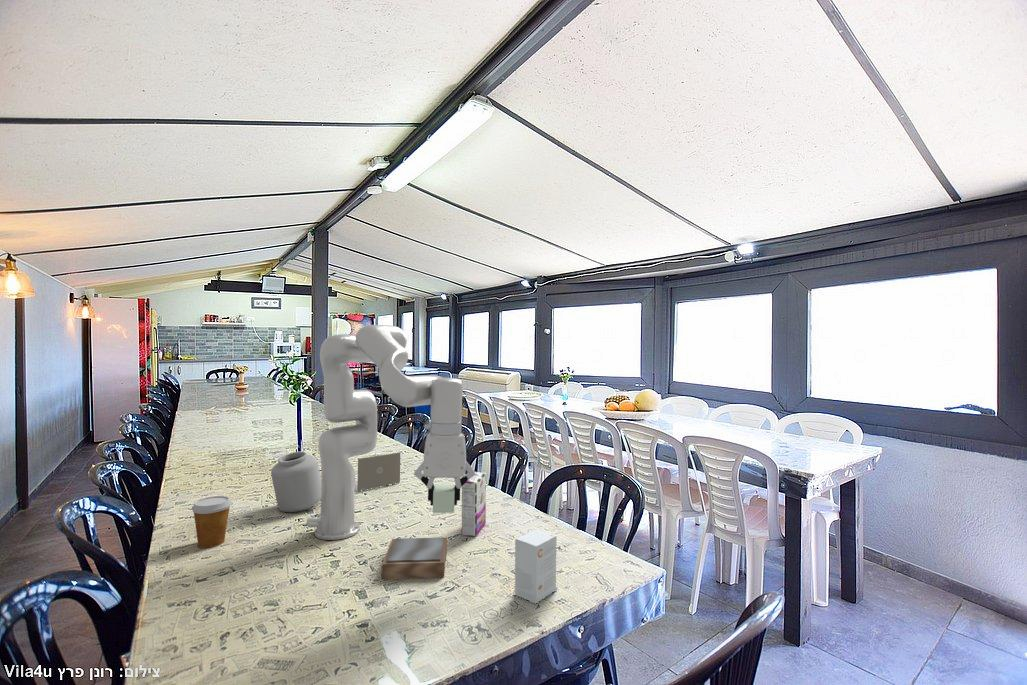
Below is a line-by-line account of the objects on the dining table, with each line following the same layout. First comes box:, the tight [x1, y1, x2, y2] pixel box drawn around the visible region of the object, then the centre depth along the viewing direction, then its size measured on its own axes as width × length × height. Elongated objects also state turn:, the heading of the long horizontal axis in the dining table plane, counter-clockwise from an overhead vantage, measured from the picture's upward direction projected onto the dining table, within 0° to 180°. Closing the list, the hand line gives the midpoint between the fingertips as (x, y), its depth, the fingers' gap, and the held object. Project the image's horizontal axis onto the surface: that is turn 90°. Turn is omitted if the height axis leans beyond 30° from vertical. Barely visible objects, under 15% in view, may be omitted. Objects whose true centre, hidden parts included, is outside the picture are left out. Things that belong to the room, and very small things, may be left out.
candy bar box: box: [461, 471, 487, 538], centre depth 145 cm, size 11×5×16 cm, turn 168°
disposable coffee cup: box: [191, 495, 233, 549], centre depth 132 cm, size 10×10×12 cm
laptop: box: [355, 451, 401, 492], centre depth 190 cm, size 18×12×13 cm
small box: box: [514, 528, 557, 605], centre depth 109 cm, size 8×6×13 cm
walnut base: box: [381, 536, 448, 580], centre depth 122 cm, size 15×15×4 cm
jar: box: [270, 436, 321, 519], centre depth 160 cm, size 19×15×25 cm
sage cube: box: [432, 484, 456, 514], centre depth 114 cm, size 5×5×5 cm
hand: (444, 502), depth 114 cm, fingers closed on sage cube, 5 cm apart
